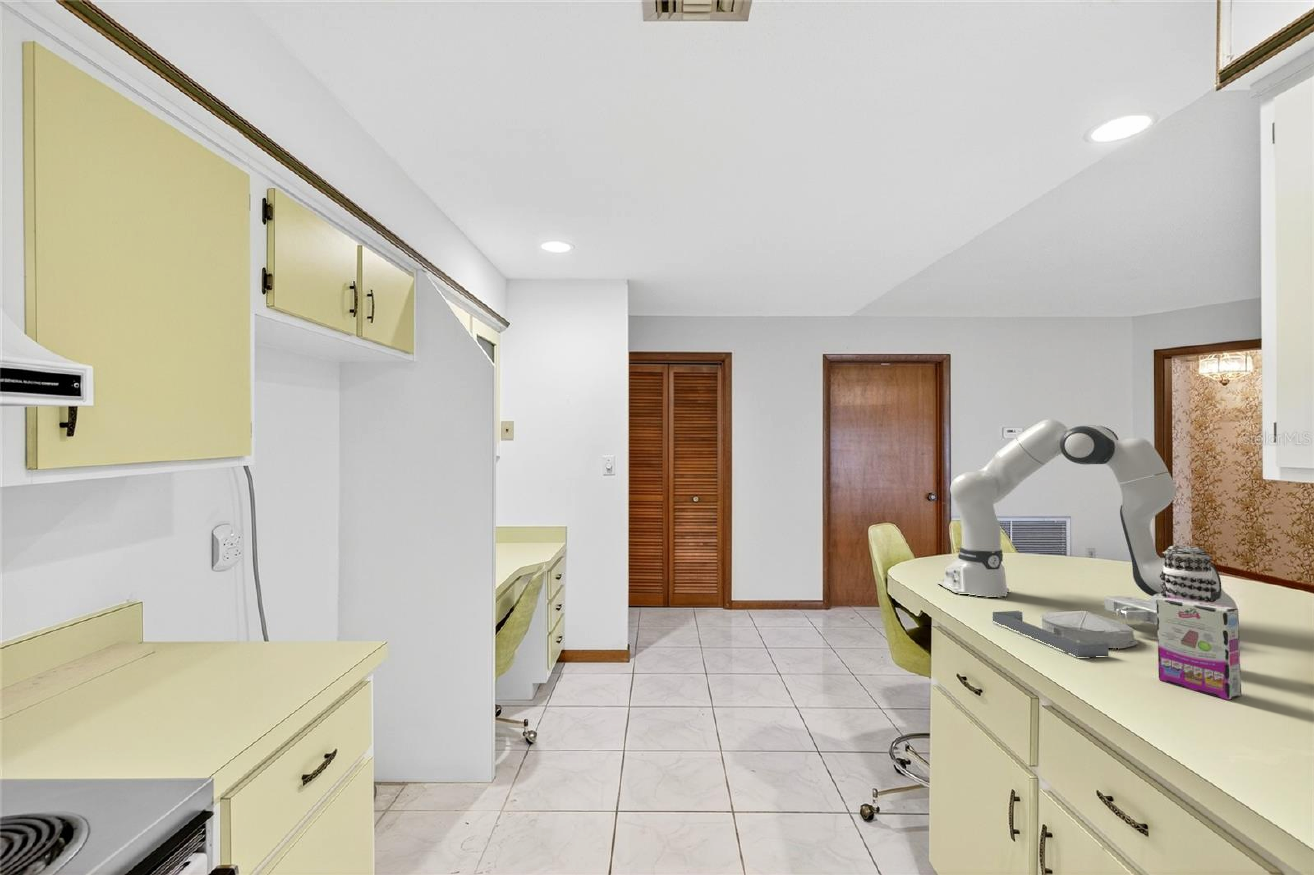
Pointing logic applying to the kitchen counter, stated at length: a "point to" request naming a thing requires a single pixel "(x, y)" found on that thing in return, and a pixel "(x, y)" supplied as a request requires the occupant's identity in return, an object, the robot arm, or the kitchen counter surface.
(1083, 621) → the food container
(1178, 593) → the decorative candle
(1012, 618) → the gray u-shaped pull
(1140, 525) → the robot arm
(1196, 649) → the candy bar box
